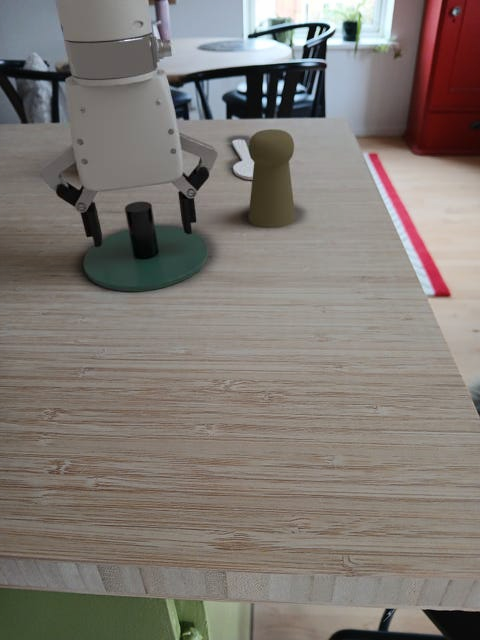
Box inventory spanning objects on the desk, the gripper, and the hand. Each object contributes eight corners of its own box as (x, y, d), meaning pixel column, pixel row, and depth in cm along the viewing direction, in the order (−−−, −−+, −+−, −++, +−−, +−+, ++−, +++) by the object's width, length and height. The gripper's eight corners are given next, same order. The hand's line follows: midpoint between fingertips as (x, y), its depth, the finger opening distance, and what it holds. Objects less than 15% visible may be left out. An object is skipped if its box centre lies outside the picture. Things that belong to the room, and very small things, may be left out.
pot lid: (66, 293, 53) (48, 235, 49) (109, 233, 64) (98, 181, 60) (194, 299, 51) (188, 238, 47) (217, 235, 62) (213, 182, 58)
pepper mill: (260, 236, 61) (258, 143, 55) (240, 217, 66) (236, 129, 59) (304, 225, 63) (308, 134, 56) (282, 207, 68) (282, 121, 61)
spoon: (253, 140, 90) (253, 137, 90) (273, 178, 76) (273, 174, 75) (222, 143, 89) (222, 140, 89) (237, 181, 75) (236, 177, 75)
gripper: (203, 44, 49) (216, 210, 60) (16, 60, 47) (63, 231, 57) (217, 57, 43) (228, 239, 54) (3, 77, 41) (58, 263, 51)
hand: (143, 234), depth 55 cm, fingers open, 9 cm apart
